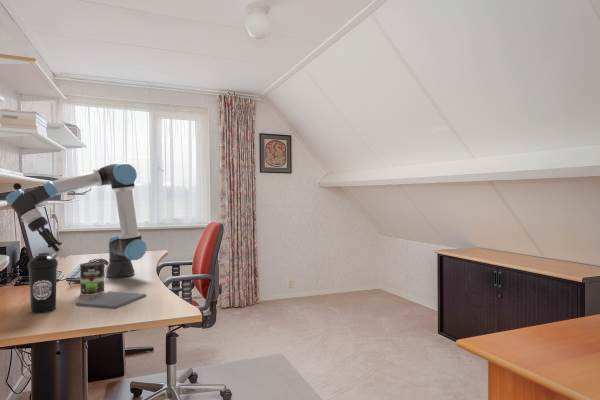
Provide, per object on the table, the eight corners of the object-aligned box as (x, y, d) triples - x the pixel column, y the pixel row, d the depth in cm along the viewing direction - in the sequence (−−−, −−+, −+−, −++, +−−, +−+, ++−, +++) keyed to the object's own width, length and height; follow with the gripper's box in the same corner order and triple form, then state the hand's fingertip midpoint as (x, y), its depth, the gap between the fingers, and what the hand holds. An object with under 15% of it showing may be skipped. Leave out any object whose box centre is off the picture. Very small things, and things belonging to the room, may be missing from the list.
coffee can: (104, 294, 183) (103, 264, 183) (79, 296, 179) (78, 266, 179) (105, 289, 193) (105, 261, 192) (81, 291, 188) (81, 262, 188)
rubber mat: (109, 293, 184) (109, 291, 184) (146, 296, 179) (146, 293, 179) (75, 305, 165) (75, 302, 165) (115, 308, 160) (115, 306, 160)
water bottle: (26, 315, 151) (25, 256, 151) (30, 308, 160) (29, 253, 160) (57, 311, 156) (56, 254, 156) (59, 305, 165) (58, 251, 165)
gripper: (32, 227, 188) (60, 261, 192) (20, 223, 166) (53, 262, 169) (47, 218, 192) (75, 252, 195) (38, 213, 169) (69, 251, 172)
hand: (65, 256), depth 182 cm, fingers open, 13 cm apart
